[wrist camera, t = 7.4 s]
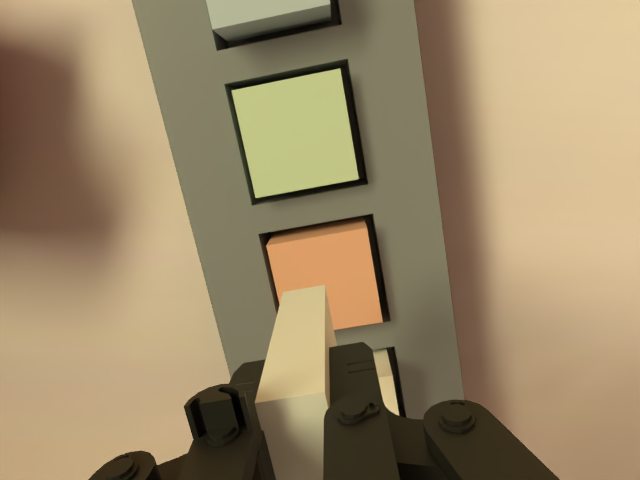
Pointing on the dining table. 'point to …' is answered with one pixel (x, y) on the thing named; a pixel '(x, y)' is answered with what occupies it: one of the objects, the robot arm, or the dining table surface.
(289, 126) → the key sage
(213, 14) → the key greyblue
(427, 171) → the keypad
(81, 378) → the dining table surface
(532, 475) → the robot arm
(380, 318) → the key terracotta
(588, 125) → the dining table surface
